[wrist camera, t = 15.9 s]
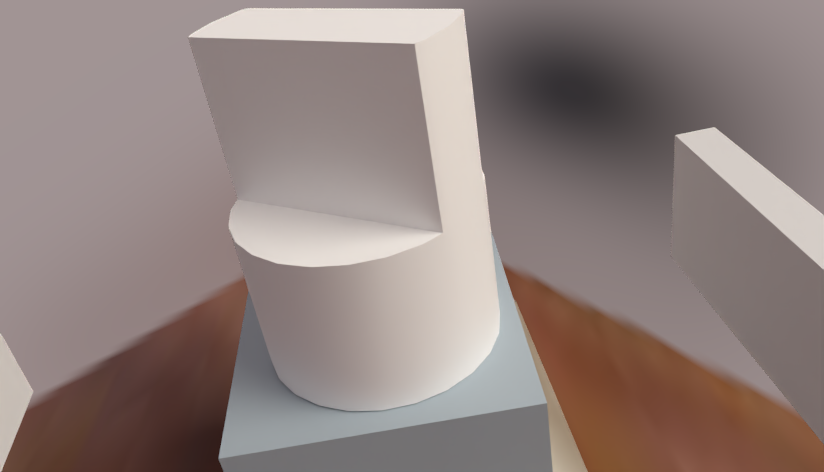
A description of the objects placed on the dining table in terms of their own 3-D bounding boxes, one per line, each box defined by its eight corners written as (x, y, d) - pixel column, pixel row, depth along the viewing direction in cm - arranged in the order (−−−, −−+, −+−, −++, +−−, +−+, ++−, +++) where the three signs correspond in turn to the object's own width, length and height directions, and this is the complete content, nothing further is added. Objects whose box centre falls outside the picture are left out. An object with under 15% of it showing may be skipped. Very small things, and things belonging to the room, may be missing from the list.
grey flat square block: (257, 553, 28) (218, 459, 25) (278, 356, 37) (251, 273, 35) (555, 502, 28) (547, 403, 25) (501, 318, 37) (491, 231, 35)
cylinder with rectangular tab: (536, 283, 31) (512, -20, 25) (432, 441, 24) (364, 87, 18) (351, 248, 35) (291, -17, 29) (222, 375, 29) (110, 71, 23)
